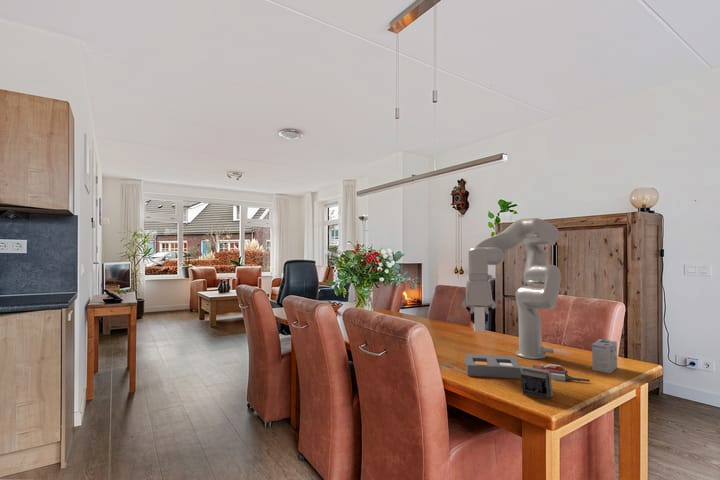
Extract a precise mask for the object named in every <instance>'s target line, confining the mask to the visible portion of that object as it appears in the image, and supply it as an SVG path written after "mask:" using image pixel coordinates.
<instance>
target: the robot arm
mask: <svg viewBox="0 0 720 480" xmlns="http://www.w3.org/2000/svg"><path fill="white" fill-rule="evenodd" d="M559 239H560V231H559V229H558V227H557V226H555V225H554V224H552V223H550V222H548V221H546V220H544V219H542V218H535V217H533V218H520V219H516V220H515V221H513V222H512V223H511V224H510V225H509V226H508V227H506V228H505V229H504V230H503V231H502V232H499V233H498V234H496V235H493V236H491V237H488V238H485V239H484V240H482V241H481V242H479V243H477V245H475V246H474V247H471V248H469V249H468V280H467V281H466V284H465V285H466V286H465V298H464V299H463V301H462V303H461V305H460V306H461V307H463V308H464V309H466V310H467V311H468V312H469V313H470V322H472V324H473V325H474V306H484V307H485V325H487V322H489V314H490V312H492V310H494V309H496V308H497V307H498V305H497V303H496V302H495V300H494V299H493V294H492V293H493V292H492V285H491V281H489V280H490V279H493V275H490V274H489V266H499V265H501V264H503V262H504V261H505V258H506V254H505V252H506V251H510V250H512V249H515V248H516V247H517V246H518V245H519V244H520V243H521V242H522V243H523V245H524V247H525V250H526V253H527V256H526V261H525V265H524V270H523V280H524V282H525V283H527V284H528V285H526V286H521V287H519V288H518V289H516V290H515V291H516V292H515V301H516V306H517V312H518V315H517V316H518V349H516V351H515V355H516V356H518V357H521V358H523V359H530V360H541V359H545V358H546V354H547V353H549V354H554V351H555V350H554V348H549V347H544V346H543V343H542V342H543V341H542V316H541V313H540V311H539V310H538V309H541V310H552V309H554V308H556V305H557V303H558V298H559V292H560V288H561V282H562V273H561V270H560V268H559V267H558V266H557V265H554V264H547V259H548V255H547V252H546V251H545V249H544V248H543V246H542V245H553V244H556V243H557V242H558V241H559ZM529 285H530V286H529ZM531 285H532V286H531ZM533 285H534V286H533ZM535 285H536V286H535ZM540 286H542V287H540Z"/></svg>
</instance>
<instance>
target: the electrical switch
mask: <svg viewBox="0 0 720 480" xmlns="http://www.w3.org/2000/svg"><path fill="white" fill-rule="evenodd" d="M520 371H521V379H520V382H521V389H522V391H521V392H522V395H524V394H526V395H525V396H528V395H531V396H530V397H533V396H535V397H534V398H537V397H539V398H538V399H542V398H543V400H546V399H548V400H549V398H552V397H553V395H554V393H553V384H552V383H553V382H552V379H551V373H550V372H549V371H547V370H541V369H536V368H533V367H530V366H522V365H521V368H520Z"/></svg>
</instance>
